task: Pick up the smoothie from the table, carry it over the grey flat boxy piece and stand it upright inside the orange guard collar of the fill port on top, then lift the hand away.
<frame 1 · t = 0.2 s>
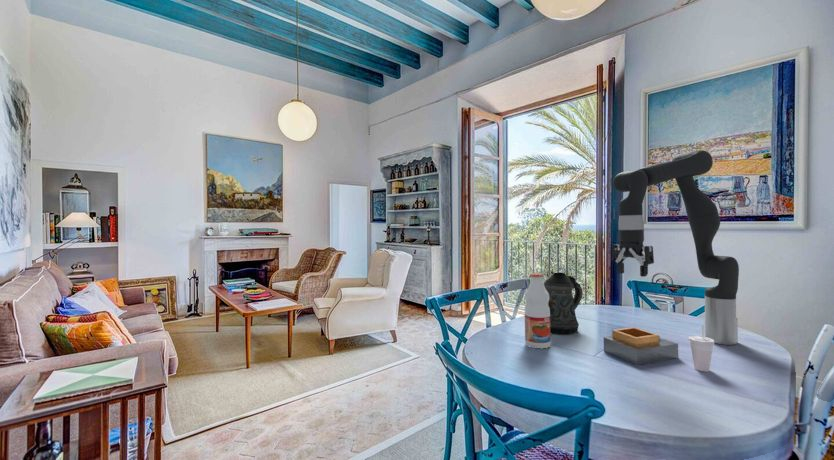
hand: (631, 274, 122), 29 cm above the table, tool pointing down, fingers open, 8 cm apart
fruit juice: (537, 345, 136), on the table
beer stein: (559, 329, 157), on the table
grey flat boxy piece: (639, 354, 125), on the table
smoothie: (701, 369, 111), on the table
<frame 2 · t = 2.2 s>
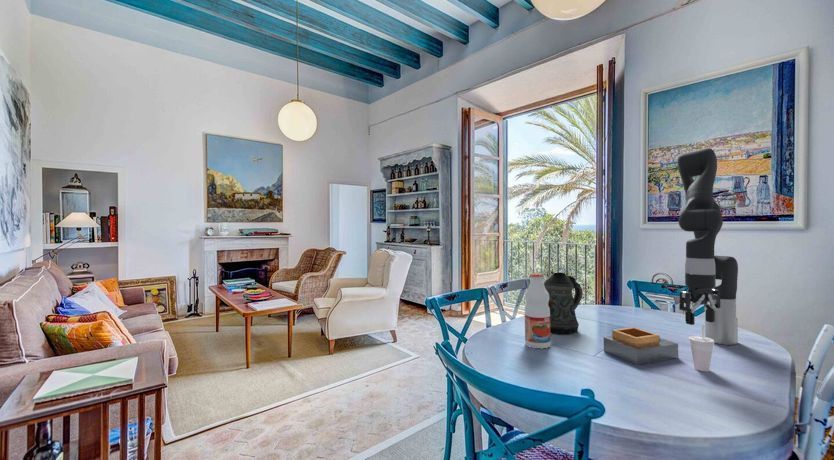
hand: (700, 323, 111), 15 cm above the table, tool pointing down, fingers open, 8 cm apart
nothing on the table moved.
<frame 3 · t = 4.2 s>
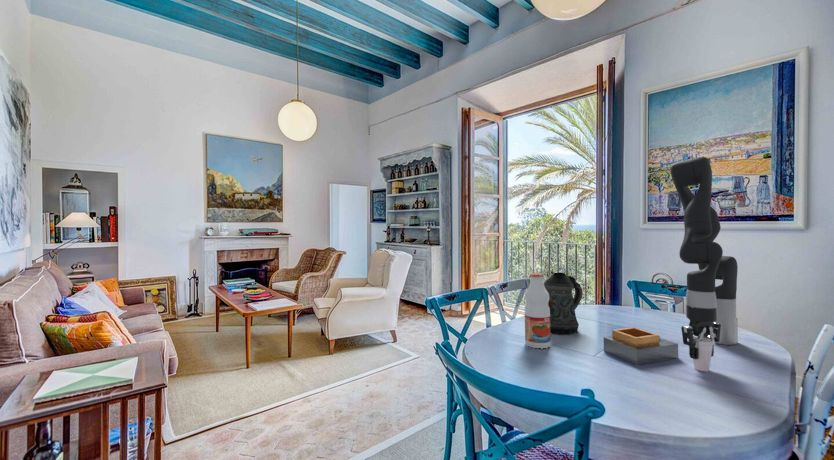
hand: (701, 356, 111), 4 cm above the table, tool pointing down, fingers closed on smoothie, 6 cm apart
smoothie: (701, 369, 111), on the table, touching gripper
everything else where it was.
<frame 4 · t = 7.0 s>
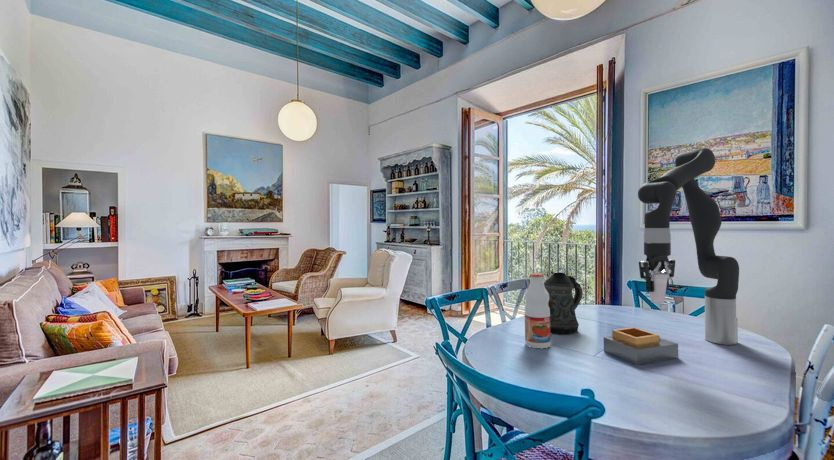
hand: (657, 290, 119), 24 cm above the table, tool pointing down, fingers closed on smoothie, 6 cm apart
smoothie: (657, 302, 119), point 20 cm above the table, touching gripper
everything else where it was.
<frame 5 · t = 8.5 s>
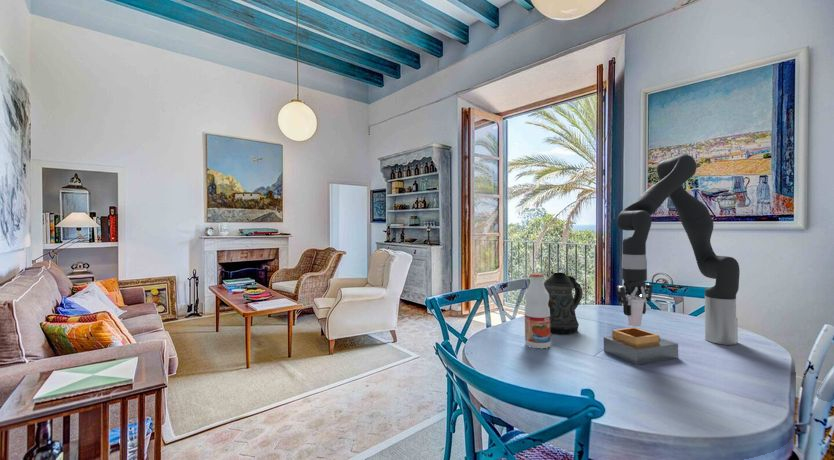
hand: (634, 314, 124), 15 cm above the table, tool pointing down, fingers closed on smoothie, 6 cm apart
smoothie: (634, 325, 124), point 10 cm above the table, touching gripper
everything else where it was.
when the fingers open (10 cm above the table, at t = 9.8 s): smoothie drops 1 cm, resting on grey flat boxy piece.
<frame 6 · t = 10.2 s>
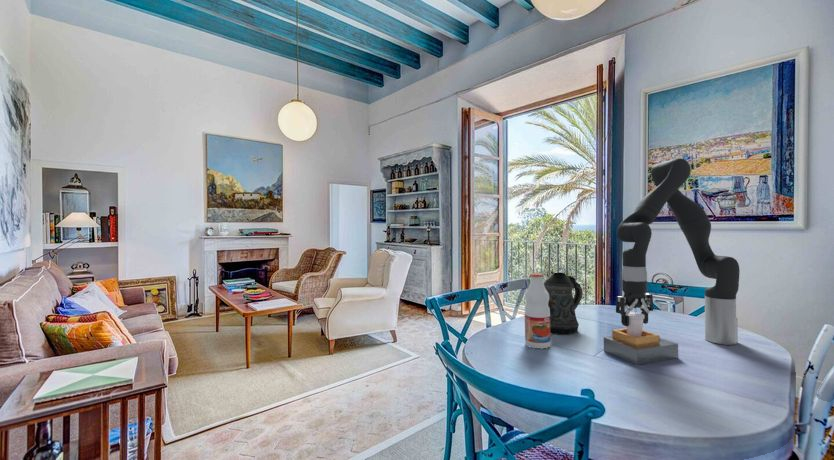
hand: (634, 324, 124), 11 cm above the table, tool pointing down, fingers open, 8 cm apart
smoothie: (634, 341, 124), point 5 cm above the table, touching grey flat boxy piece
everything else where it was.
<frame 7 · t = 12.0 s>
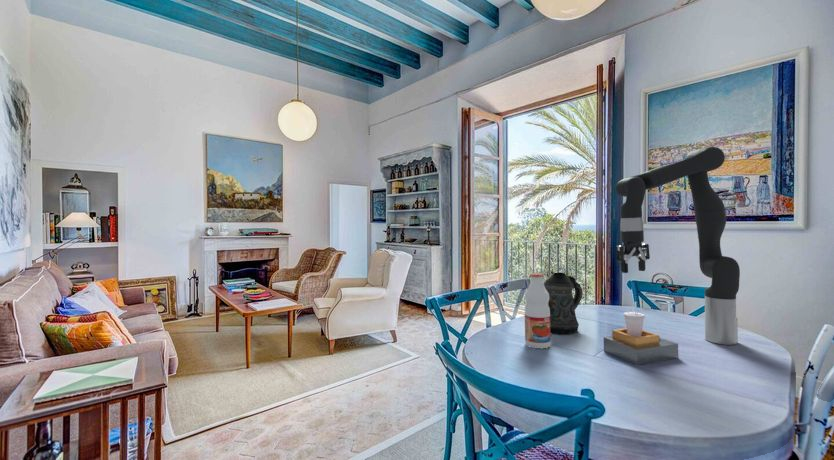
hand: (633, 271, 135), 28 cm above the table, tool pointing down, fingers open, 8 cm apart
nothing on the table moved.
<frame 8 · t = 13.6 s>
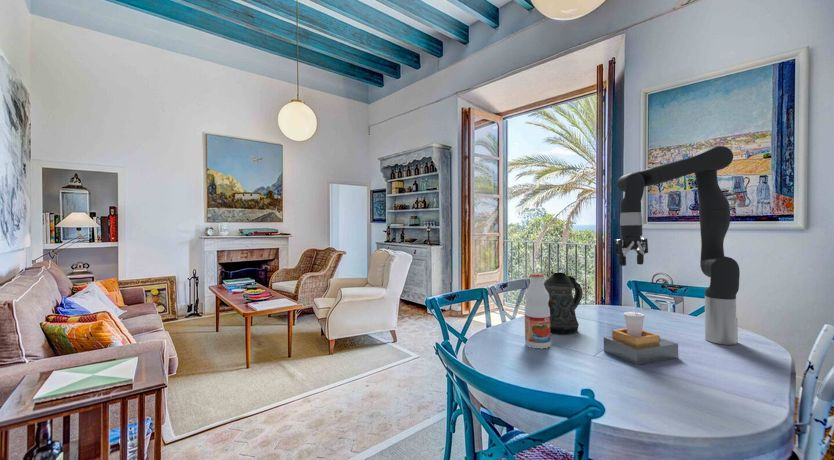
hand: (631, 265, 139), 30 cm above the table, tool pointing down, fingers open, 8 cm apart
nothing on the table moved.
at the end: smoothie 0.4 cm from the target spot on the grey flat boxy piece, point 4.8 cm above the grey flat boxy piece's base; smoothie tilted 0°; the gripper is holding nothing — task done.
